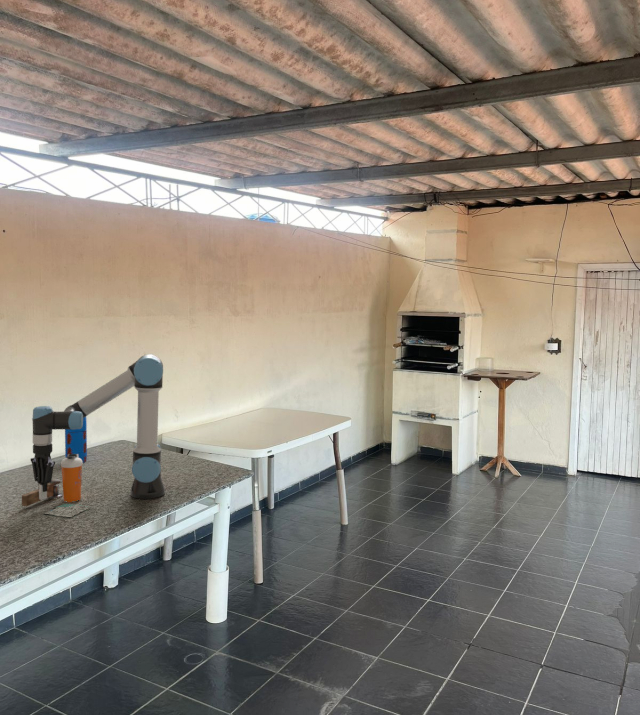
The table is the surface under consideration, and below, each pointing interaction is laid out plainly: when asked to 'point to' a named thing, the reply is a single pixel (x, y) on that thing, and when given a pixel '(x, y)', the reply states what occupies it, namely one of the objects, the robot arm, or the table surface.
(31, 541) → the table surface
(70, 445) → the thermos
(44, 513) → the table surface
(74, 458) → the shaker bottle
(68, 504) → the mat
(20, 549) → the table surface
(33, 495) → the bar
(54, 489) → the grey curved piece
